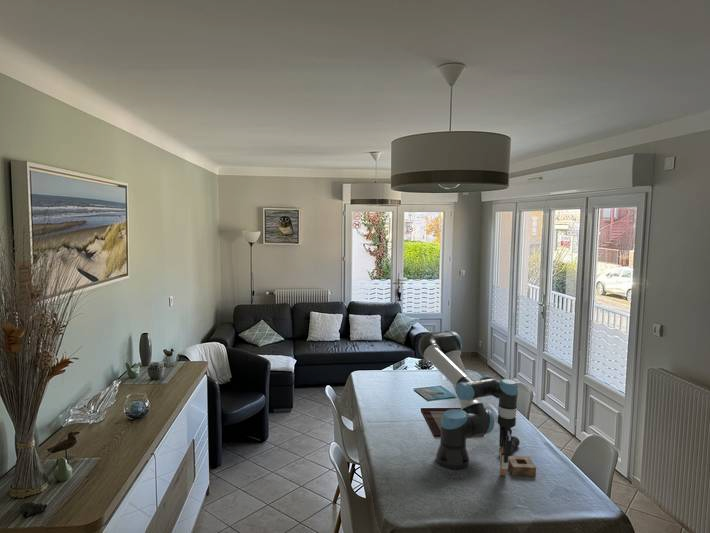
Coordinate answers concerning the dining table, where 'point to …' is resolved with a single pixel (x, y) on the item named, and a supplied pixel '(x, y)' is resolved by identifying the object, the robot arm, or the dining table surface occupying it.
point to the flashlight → (514, 444)
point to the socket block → (521, 466)
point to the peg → (502, 471)
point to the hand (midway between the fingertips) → (503, 466)
